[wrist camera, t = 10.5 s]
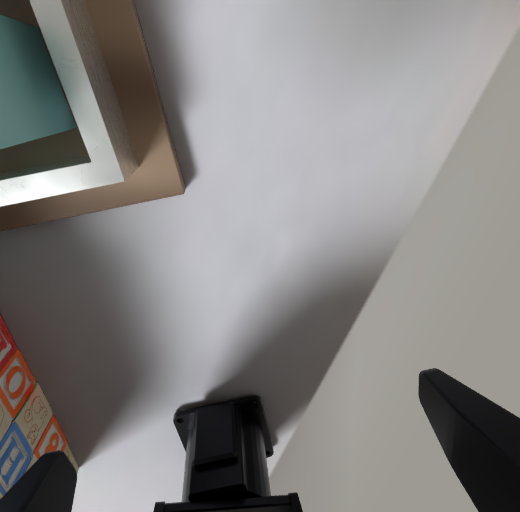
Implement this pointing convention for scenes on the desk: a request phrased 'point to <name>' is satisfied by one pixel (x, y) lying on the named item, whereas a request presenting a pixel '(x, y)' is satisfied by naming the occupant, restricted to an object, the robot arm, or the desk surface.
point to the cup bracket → (77, 111)
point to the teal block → (28, 87)
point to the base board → (134, 114)
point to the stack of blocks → (23, 417)
